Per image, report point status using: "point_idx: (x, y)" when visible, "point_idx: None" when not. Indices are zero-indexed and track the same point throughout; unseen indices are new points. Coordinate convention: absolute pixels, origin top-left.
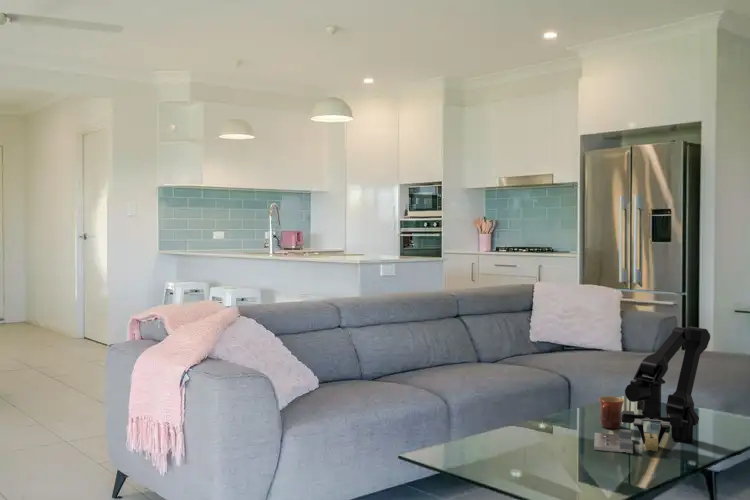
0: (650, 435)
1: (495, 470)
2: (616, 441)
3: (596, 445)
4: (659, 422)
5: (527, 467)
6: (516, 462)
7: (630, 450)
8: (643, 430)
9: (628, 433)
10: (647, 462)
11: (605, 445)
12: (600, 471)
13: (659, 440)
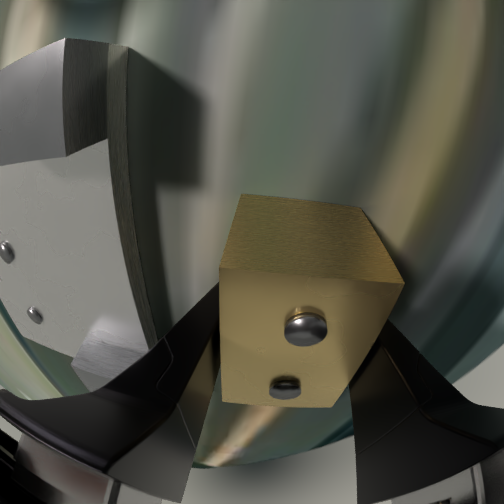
0: (292, 350)
1: (12, 389)
2: (42, 264)
3: (21, 327)
4: (485, 452)
5: (25, 391)
6: (2, 372)
7: None
8: (193, 451)
9: (52, 154)
10: (231, 421)
11: (40, 329)
12: None
13: None
